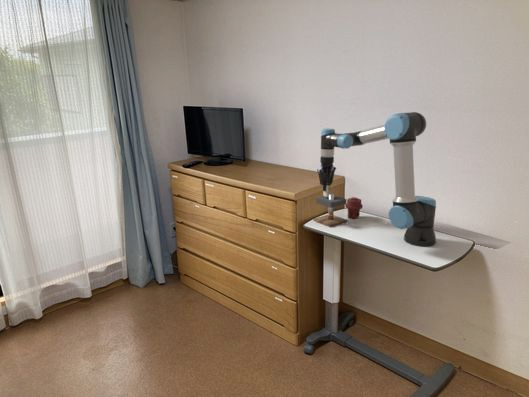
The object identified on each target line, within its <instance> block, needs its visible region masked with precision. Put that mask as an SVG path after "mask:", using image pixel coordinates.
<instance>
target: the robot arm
mask: <svg viewBox="0 0 529 397" xmlns="http://www.w3.org/2000/svg"><path fill="white" fill-rule="evenodd" d="M426 120H427V119H426V117H425V116H424V115H423V114H422V113H419V112H417V111H411V112H399V113H394V114H392V115H390V116H389V117H388V118H387V119H386V120H385V123H384V124H383V125H378V126H376V127H375V126H374V127H371V128H367V129H364V130H360V131H355V132H345V133H337V132H336V130H335V129H334V128H331V127H330V128H328V127H327V128H323V129H321V134H320V159H319V160H320V161H319V162H320V167H319V168H317V170H316V171H317V173H318V178H319V179H318V180H319V184H320V185H321V186H322V192H323V193H322V194H323V196H322V197H324V196H325V197H328V196H329V194H330V193H329V191H330V186H331V185H332V184H333V181H334V178H335V177H334V176H335V171H336V170H337V167H335V166H334V164H333V163H335V157H334V156H335V148H338V149H339V148H340V149H344V150H345V149H350V148H351V147H356V146H363V145H366V144H370V143H375V142H380V141H384V140H389V144H390V145H391V146H392V148H393V165H394V167H393V169H394V183H395V184H394V185H395V186H394V188H395V197H394V198H393V200H392V207H391V208H390V209H389V210H388V220H389V221H390V223H391V224H392V226H394V227H395V228H397V229H399V230H405V229H406V231H405V232H404V235H403V236H404V237H403V241H405V243H407V244H410V245H412V246H418V247H432V246H434V245H436V242H437V237H436V233H435V230H434V225H435V216H436V210H437V209H436V208H437V201H436V199H435V198H432V197H428V196H424V195H416V194H415V193H416V191H415V190H416V189H415V171H414V169H415V166H414V148H413V147H414V144H415V143H416V142H417V137H418V136H420V135H422V134H423V133H424V132H425V130H426V128H427V121H426Z"/></svg>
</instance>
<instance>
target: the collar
mask: <svg viewBox="0 0 529 397" xmlns="http://www.w3.org/2000/svg"><path fill="white" fill-rule="evenodd" d="M315 203H316V204H318V205H321V206H325V207H330V208H332V207H334V208H336V207H340V206H345V205H346V204H347V198H343V197H341V196H340V197H339V196H337V195H334V200H329V195H328V197H325V196H319V197H316V200H315Z"/></svg>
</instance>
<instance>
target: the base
mask: <svg viewBox="0 0 529 397" xmlns="http://www.w3.org/2000/svg"><path fill="white" fill-rule="evenodd" d="M313 222H315V223H318V224H321V225H323V226H326V227H329V228H333V227H336V226H341V225H344V224H347V223H348V222H349V220H348V219H347V218H343V217H341V216H337V215H333V220H328V214H326V215H322V216H318V217H314V218H313Z"/></svg>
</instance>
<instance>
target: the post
mask: <svg viewBox="0 0 529 397" xmlns="http://www.w3.org/2000/svg"><path fill="white" fill-rule="evenodd" d="M328 196H329V200H334V196H335V194H334V193H328ZM334 208H335V207H332V208H330V207H328V208H327V212H328V213H327V215H328V220H333V215H334V210H335V209H334Z"/></svg>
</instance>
